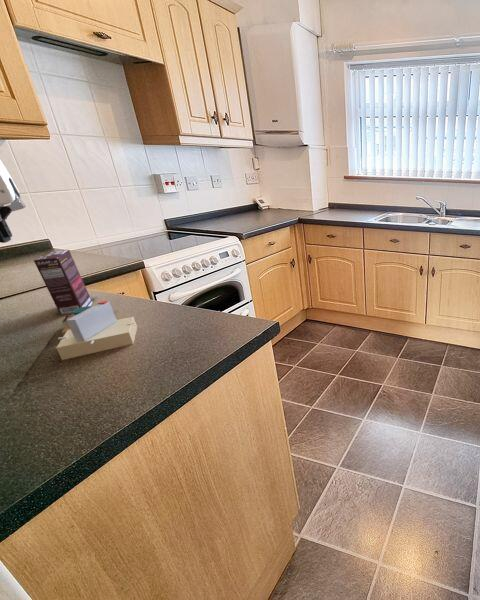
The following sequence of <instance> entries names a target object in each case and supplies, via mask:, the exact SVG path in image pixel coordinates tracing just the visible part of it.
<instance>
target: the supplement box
mask: <svg viewBox="0 0 480 600" xmlns="http://www.w3.org/2000/svg"><path fill="white" fill-rule="evenodd" d="M33 263H34V264H35V266H36V268H37V270H38V272H39V274H40V277H41V278H42V281H43V282H44V284H45V287H46V288H47V291H48V292H49V294H50V295H49V296H50V297H51V298H52V301H53V304H54V305H55V307H56V309H57V311H58V313H59V315H66V316H65V319H67V318H68V316H70V315H72V314H73V311H74V310H75V309H78V308H81V307H86V306H92V305H93V304H94V302H93V300H92V298H91V296H90V294H89V292H88V289H87V287H86V285H85V283H84V280H83V278H82V276H81V274H80V272H79V270H78V267H77V264H76V263H75V260H74V258H73V256H72V254H71V251H70V250H69V249H62V250H61V249H60V250H53V251H52V250H51V251H47V252H45V253H43V254H42V255H40V256H39V257H37V258H35V259H33Z"/></svg>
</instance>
